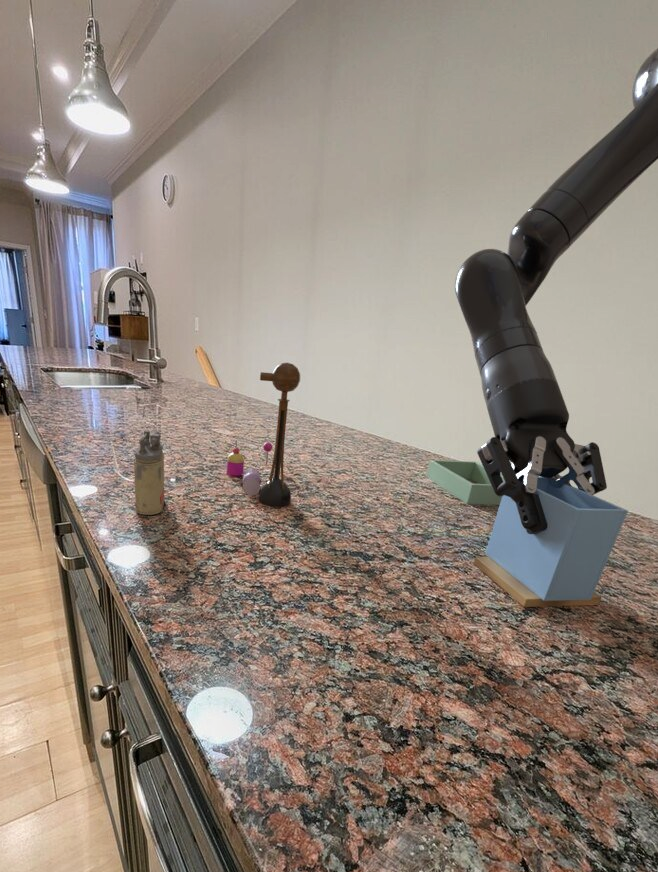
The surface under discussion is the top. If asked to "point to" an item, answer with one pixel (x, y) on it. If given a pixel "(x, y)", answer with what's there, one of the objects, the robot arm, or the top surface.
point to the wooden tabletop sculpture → (279, 435)
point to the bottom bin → (463, 481)
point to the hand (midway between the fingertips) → (564, 531)
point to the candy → (250, 475)
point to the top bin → (557, 542)
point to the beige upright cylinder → (149, 475)
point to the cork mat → (523, 587)
